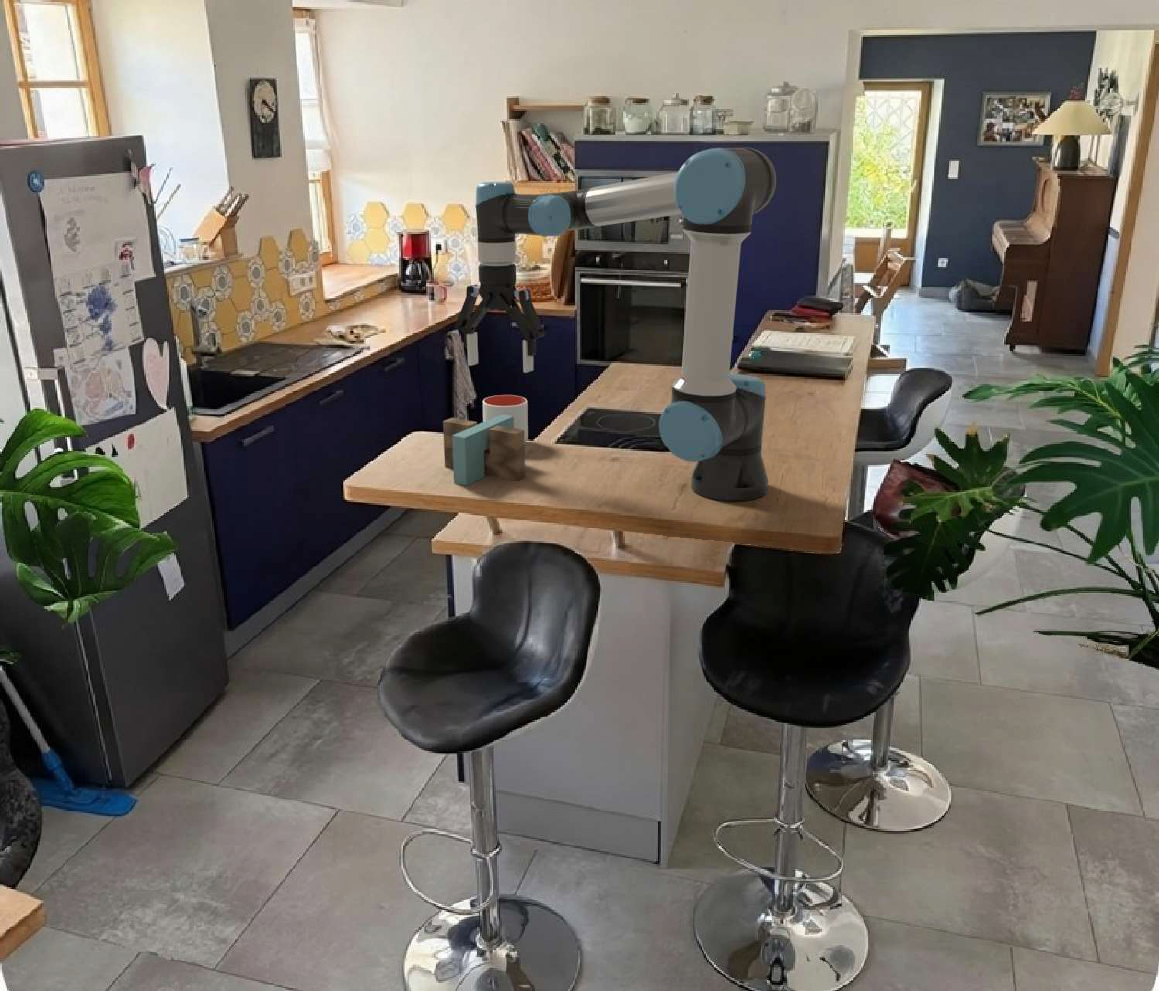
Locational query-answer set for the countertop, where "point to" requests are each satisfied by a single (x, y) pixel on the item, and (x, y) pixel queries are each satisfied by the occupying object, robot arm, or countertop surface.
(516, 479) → the u-notched wood block
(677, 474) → the countertop surface
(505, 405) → the cup
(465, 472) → the teal arch piece
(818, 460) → the countertop surface
